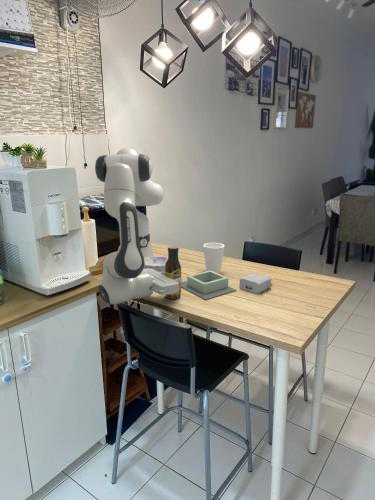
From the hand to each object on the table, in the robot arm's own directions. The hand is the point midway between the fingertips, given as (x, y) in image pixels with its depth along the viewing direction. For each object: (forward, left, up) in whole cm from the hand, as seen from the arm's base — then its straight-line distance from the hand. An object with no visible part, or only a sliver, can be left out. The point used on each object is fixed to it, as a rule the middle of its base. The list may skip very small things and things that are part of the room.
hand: (175, 276), depth 148 cm
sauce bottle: (0, -1, -8) cm, 8 cm away
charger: (+11, +34, -9) cm, 37 cm away
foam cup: (-12, +29, -8) cm, 33 cm away
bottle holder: (0, +16, -8) cm, 18 cm away
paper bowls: (-22, +5, -8) cm, 24 cm away
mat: (0, +15, -8) cm, 17 cm away
